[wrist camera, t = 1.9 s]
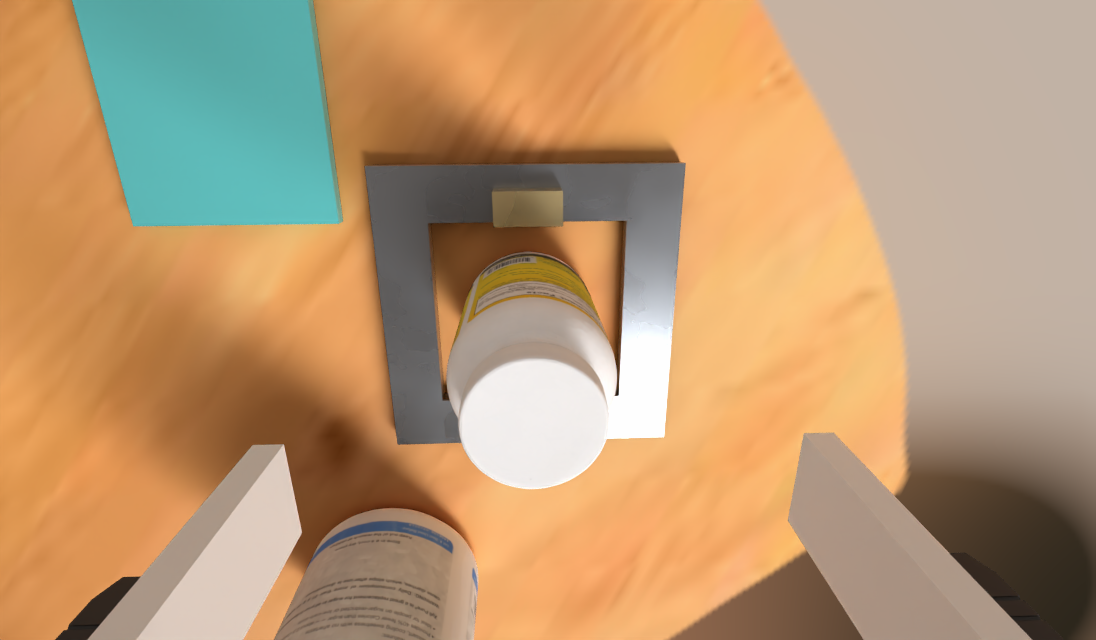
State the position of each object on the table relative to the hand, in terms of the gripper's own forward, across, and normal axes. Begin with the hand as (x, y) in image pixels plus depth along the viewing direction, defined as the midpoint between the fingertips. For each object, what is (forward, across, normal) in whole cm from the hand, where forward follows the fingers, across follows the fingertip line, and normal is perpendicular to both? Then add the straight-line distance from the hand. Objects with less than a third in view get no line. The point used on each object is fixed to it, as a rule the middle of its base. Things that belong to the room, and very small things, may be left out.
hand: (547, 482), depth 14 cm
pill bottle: (+14, 0, 0) cm, 14 cm away
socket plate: (+14, 0, 0) cm, 14 cm away
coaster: (+14, +14, -9) cm, 21 cm away
